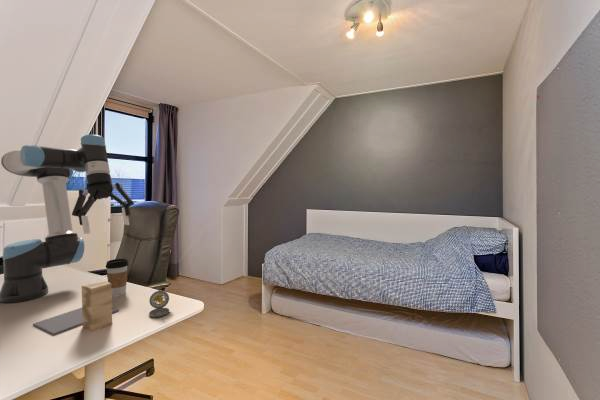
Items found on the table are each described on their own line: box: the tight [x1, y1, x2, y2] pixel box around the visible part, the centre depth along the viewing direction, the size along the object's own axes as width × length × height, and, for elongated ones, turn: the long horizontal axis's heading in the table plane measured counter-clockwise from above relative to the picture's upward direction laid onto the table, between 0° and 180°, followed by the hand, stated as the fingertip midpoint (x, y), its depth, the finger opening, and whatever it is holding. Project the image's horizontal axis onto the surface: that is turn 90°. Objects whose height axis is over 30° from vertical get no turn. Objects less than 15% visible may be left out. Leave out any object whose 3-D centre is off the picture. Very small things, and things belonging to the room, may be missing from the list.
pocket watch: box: [148, 283, 170, 318], centre depth 105 cm, size 8×8×10 cm
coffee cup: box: [105, 258, 130, 297], centre depth 123 cm, size 8×8×15 cm
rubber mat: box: [32, 306, 120, 336], centre depth 100 cm, size 14×20×1 cm
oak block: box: [81, 280, 113, 332], centre depth 95 cm, size 6×6×14 cm
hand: (107, 229), depth 105 cm, fingers open, 13 cm apart
